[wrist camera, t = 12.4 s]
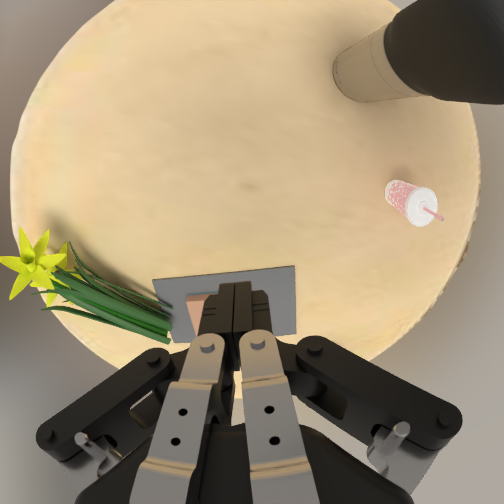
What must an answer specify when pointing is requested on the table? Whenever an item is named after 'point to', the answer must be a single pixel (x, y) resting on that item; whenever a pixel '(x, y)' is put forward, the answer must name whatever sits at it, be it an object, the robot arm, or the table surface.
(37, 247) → the daffodil flowers
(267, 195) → the table surface
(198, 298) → the tile
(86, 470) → the robot arm
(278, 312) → the felt mat
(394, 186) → the beverage cup
